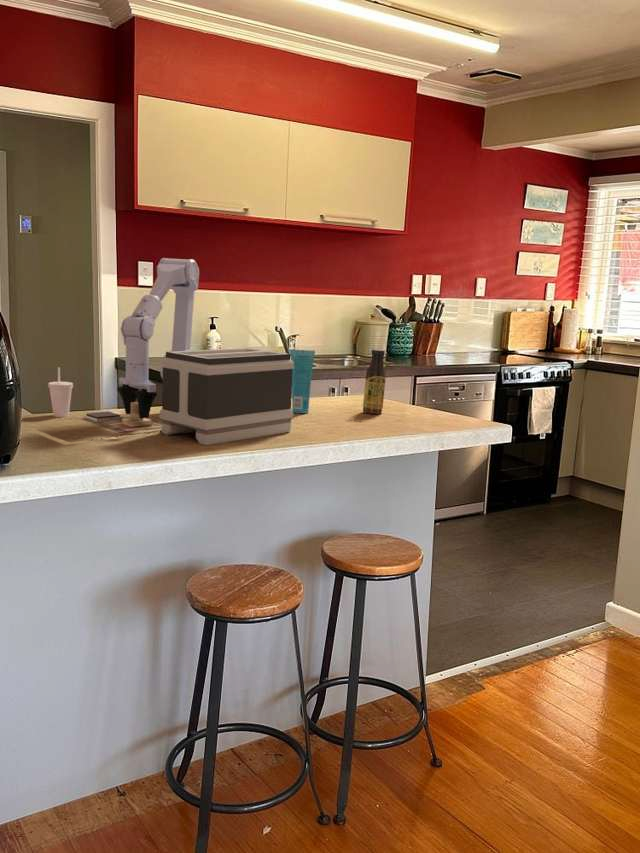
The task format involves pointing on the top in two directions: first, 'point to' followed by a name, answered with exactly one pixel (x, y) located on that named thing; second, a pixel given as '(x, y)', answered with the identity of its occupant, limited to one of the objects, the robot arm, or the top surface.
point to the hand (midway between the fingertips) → (136, 415)
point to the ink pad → (103, 417)
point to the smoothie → (60, 397)
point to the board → (121, 429)
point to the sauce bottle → (375, 384)
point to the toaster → (226, 394)
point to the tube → (301, 379)
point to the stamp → (136, 418)
